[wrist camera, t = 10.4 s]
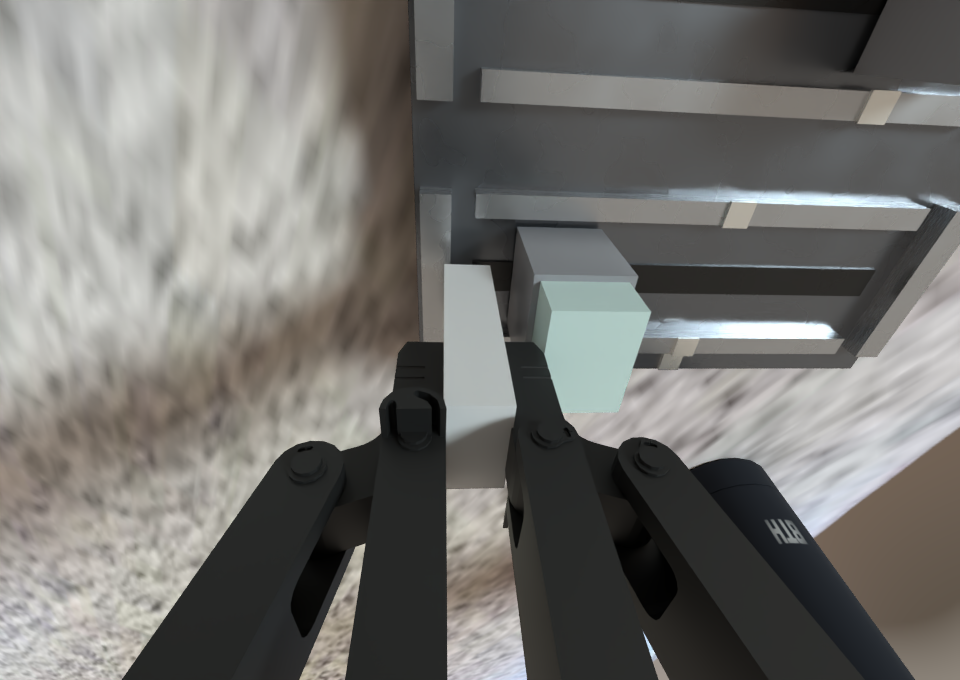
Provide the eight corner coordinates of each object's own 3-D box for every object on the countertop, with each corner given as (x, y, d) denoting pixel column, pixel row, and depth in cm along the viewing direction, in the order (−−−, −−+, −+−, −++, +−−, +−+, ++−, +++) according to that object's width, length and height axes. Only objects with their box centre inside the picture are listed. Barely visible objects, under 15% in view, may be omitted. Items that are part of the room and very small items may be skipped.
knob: (517, 226, 15) (545, 303, 11) (601, 228, 15) (661, 305, 11) (507, 323, 17) (526, 417, 13) (580, 323, 18) (622, 416, 13)
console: (403, -303, 10) (391, -401, 8) (1165, -205, 12) (1341, -262, 9) (422, 341, 20) (419, 380, 18) (820, 343, 22) (864, 379, 20)
